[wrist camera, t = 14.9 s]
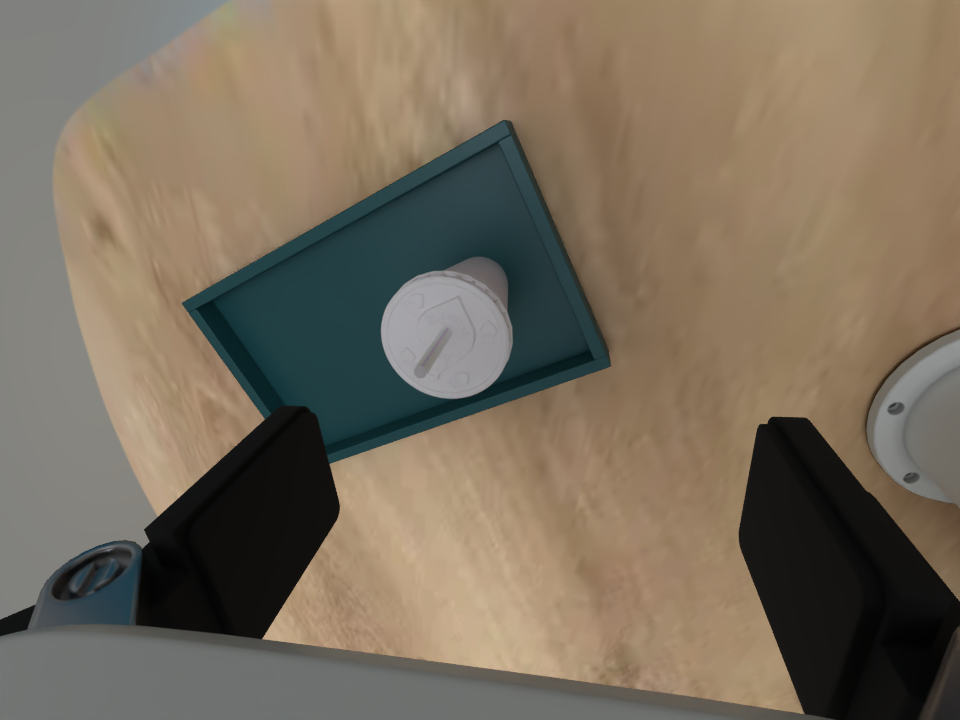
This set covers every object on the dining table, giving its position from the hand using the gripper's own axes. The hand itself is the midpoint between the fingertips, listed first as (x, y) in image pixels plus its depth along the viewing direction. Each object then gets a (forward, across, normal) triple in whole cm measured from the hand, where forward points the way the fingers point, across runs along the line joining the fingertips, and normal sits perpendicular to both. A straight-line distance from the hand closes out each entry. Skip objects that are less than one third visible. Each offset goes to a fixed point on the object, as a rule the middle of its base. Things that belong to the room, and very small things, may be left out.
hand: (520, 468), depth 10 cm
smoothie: (+22, +5, +2) cm, 22 cm away
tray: (+22, +12, +5) cm, 25 cm away
